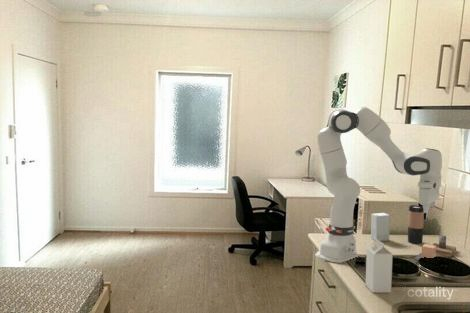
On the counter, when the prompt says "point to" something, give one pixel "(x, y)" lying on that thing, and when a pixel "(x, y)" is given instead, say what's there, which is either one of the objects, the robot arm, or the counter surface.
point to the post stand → (444, 247)
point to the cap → (428, 251)
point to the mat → (418, 257)
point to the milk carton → (378, 268)
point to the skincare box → (380, 226)
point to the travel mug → (415, 224)
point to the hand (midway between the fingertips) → (428, 211)
